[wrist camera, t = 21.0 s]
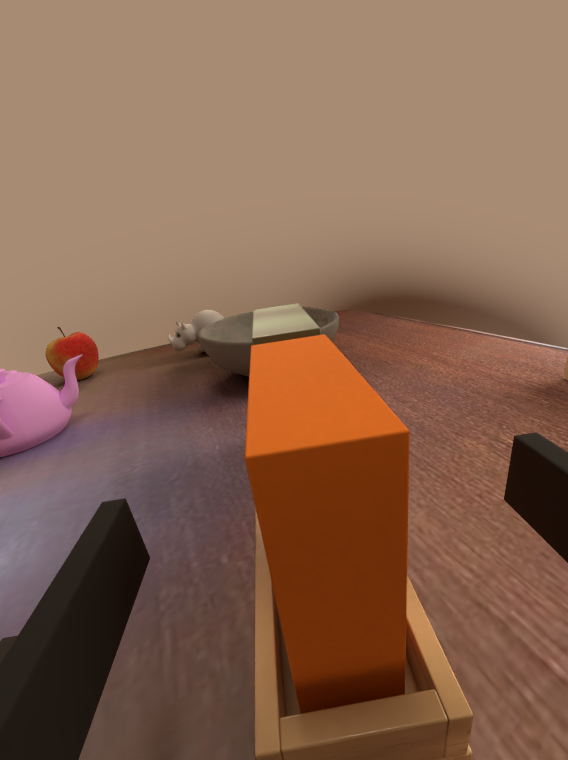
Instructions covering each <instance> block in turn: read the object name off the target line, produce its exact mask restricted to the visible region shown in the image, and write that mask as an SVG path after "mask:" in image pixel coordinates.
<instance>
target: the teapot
mask: <svg viewBox="0 0 568 760" xmlns="http://www.w3.org/2000/svg"><path fill="white" fill-rule="evenodd" d="M82 355H83V354H81V355H79V356H76V357H74V358H72V359H70V360H68V361H67V362H66V363H65V364H64V367H63V373H64V378H65V386H64V388H63V389H62V390H61V391H60V392H59V391H58V390H57V389H56V388H55V387H53V386H52V385H50V384H49V383H47V382H46V381H44V380H43V379H41V378H39V377H38V376H36V375H33V374H32V373H19V372H18V371H16V370H10V371H8V372H6V373H5V369H0V457H4V456H8V455H12V454H15V453H19V452H21V451H24V450H27V449H29V448H32V447H34V446H37V445H39V444H41V443H43V442H45V441H47V440H49V439H50V438H52V437H54V436H55V435H57V434H58V433H59V432H61V431H62V430H63V429H64V428H65V426H66V425H67V423H68V421H69V418H70V416H71V413H72V409H71V407H72V406H73V405H74V404H75V403H76V401H77V399H78V395H79V388H78V384H77V380H76V376H75V365H76V363H77V361H78V360H79V358H80V357H81V356H82Z"/></svg>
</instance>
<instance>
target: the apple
mask: <svg viewBox="0 0 568 760" xmlns="http://www.w3.org/2000/svg"><path fill="white" fill-rule="evenodd" d="M58 329H60V331H61V332H62V330H61V328H60V327H58ZM62 334H63V332H62ZM63 335H64V334H63ZM81 354H83V355H82V356H81V357H80V358H79V360H78V361H77V363H76V365H75V376H76V380H81V379H85V378H87V377H89V376H90V375H92V374H93V373H94V372H95V370H96V368H97V365H98V358H99V357H98V349H97V346H96V344H95V342H94V341H93V340H92V339H91V338H90V337H89V336H87V335H86V334H83V333H80V332H76V333H73V334H71V335H69V336H67V337H65V336H64V337H62V338H58V339H56V340H54V341H52V342H51V343H50V344H49V345H48V346H47V348H46V358H47V361H48V363H49V364H50V366H51V367H52V368H53V369H54V371H55V372H57V373H58V374H59V375H61V376H62V377H64V373H63V367H64V364H65V363H66V362H67V361H68V360H70V359H72V358H74V357H76V356H79V355H81Z"/></svg>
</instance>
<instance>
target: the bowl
mask: <svg viewBox="0 0 568 760" xmlns="http://www.w3.org/2000/svg"><path fill="white" fill-rule="evenodd" d="M302 308H303V309H304V310H305V312H306V313H307V314H308V315H309V316H310V317H311V318H312V319H313V321H314V322H315V323H316V324H317V325H318V326H319V327H320V331H321V335H323V334H325V335H326V336H327V337H328V338H329V339H330V341H332V340H333V338H334V336H335V334H336V332H337V328H338V325H339V316H338V314H337V313H336V312H333V311H330V310H326V309H318V308H311V307H302ZM252 327H253V312H249V313H244V314H239V315H235V316H231V317H228V318H224V319H222V320H219V321H216V322H214V323H211V324H209V325H207V326H205V327H203V328H202V329H201V330H200V332H199V334H198V338H199V341H200V343H201V345H202V347H203V348H204V350H205V351H206V353H207V354H208V355H209V357H210V358H211V359H212V360H213V361H214V362H215V363H217V364H218V365H219V366H221V367H222V368H224V369H226V370H228V371H231V372H233V373H237V374H240V375H244V376H249V372H250V354H251V346H252V345H253V342H252Z"/></svg>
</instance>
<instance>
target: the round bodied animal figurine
mask: <svg viewBox="0 0 568 760" xmlns="http://www.w3.org/2000/svg"><path fill="white" fill-rule="evenodd" d="M222 319H224V317H222V316H221V315H220V314H219V313H217V312H215V311H213V310H203V311H201V312H199V313H197V314H196V315H195V316H194V317H193V319H192V321H191V324H183V323H181V324H180V323H179V322H176V324H177V325H178V327H177V330H176V331H175V332H176V335H175V336H173V338H171V337H170V334H169V335H168V340H169V341H170V343H171V344H172V347H173V348H174V349H175V350H177V351H181V350H184V349H185V348H186V346H187V345H191V344H193V343H194V342H195V341H197V342H198V343H199V350H200V351H201V352H206V351H205V350H204V348H203V347H202V345H201V343H200V341H199V338H198V334H199V332H200V330H201V329H202V328H203V327H205V326H207V325H209V324H211V323H214V322H216V321H219V320H222ZM206 354H207V353H206ZM207 355H208V354H207Z"/></svg>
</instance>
